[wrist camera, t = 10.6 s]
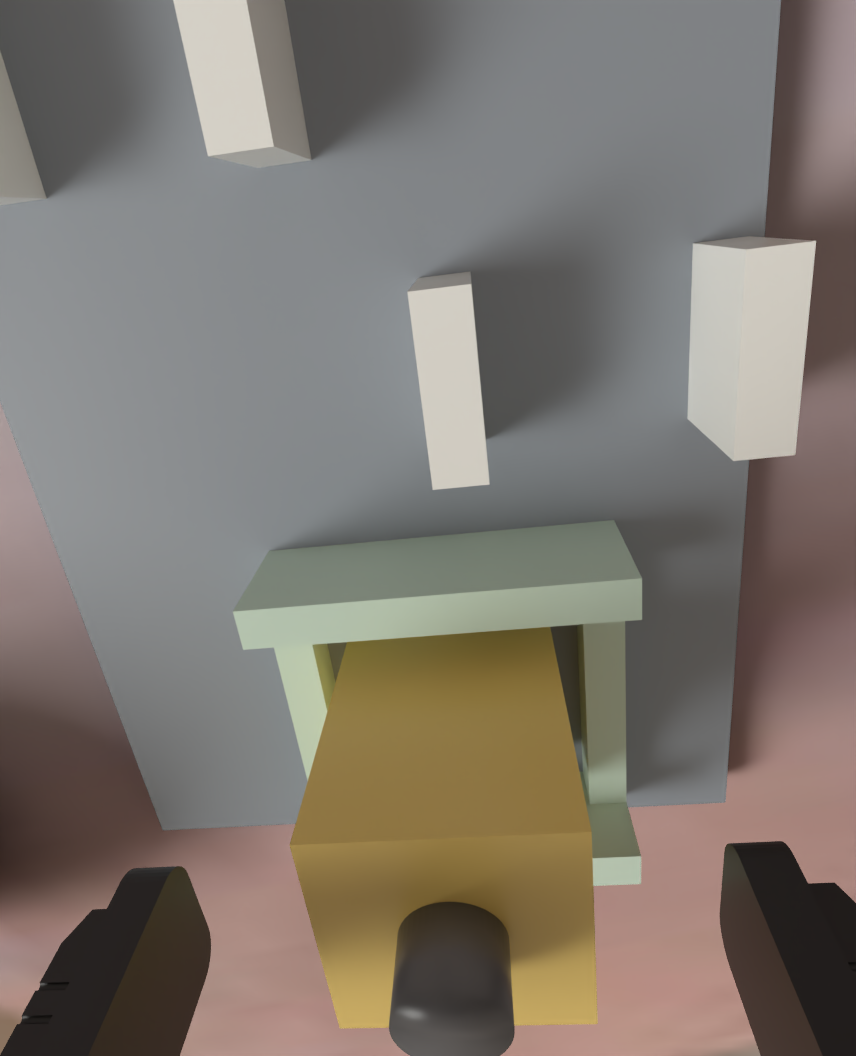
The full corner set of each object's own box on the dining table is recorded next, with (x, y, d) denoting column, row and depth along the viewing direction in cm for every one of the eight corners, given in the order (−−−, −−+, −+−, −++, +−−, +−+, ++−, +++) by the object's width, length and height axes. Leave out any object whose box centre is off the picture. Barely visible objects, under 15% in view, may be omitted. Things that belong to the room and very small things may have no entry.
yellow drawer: (355, 611, 15) (265, 930, 8) (544, 598, 14) (609, 918, 8) (382, 756, 16) (325, 1119, 10) (552, 747, 16) (612, 1117, 9)
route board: (-184, -182, 10) (-233, -213, 10) (783, -386, 9) (811, -437, 8) (175, 805, 18) (162, 830, 18) (714, 777, 17) (725, 802, 16)
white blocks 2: (418, 277, 12) (407, 292, 10) (749, 235, 11) (815, 240, 9) (438, 444, 13) (432, 490, 11) (738, 413, 13) (795, 454, 10)
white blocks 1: (-76, -10, 11) (-218, -68, 8) (272, -72, 10) (217, -152, 8) (-3, 206, 12) (-111, 203, 10) (311, 160, 11) (273, 146, 9)
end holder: (268, 551, 14) (232, 611, 12) (613, 519, 14) (641, 578, 11) (331, 810, 17) (311, 896, 15) (617, 795, 16) (640, 883, 14)
